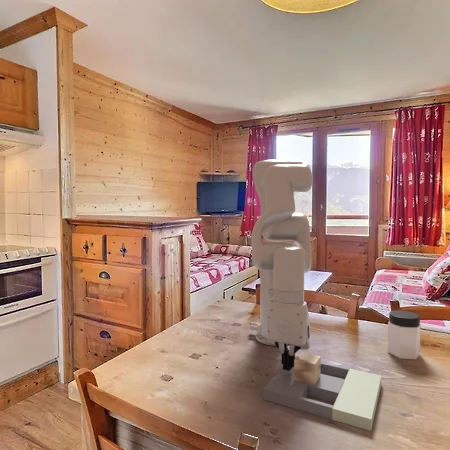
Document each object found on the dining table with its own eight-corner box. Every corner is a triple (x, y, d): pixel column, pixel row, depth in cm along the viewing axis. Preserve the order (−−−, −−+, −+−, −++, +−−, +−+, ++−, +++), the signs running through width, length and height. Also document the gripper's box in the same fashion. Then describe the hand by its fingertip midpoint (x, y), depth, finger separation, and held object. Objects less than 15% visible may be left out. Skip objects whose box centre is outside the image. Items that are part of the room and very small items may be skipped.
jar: (392, 345, 109) (393, 308, 109) (421, 352, 104) (422, 313, 103) (384, 354, 103) (385, 315, 102) (415, 362, 97) (416, 321, 97)
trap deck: (263, 399, 79) (263, 388, 79) (291, 364, 97) (291, 355, 96) (371, 431, 68) (371, 418, 68) (381, 385, 85) (381, 375, 85)
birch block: (294, 379, 83) (294, 359, 83) (300, 371, 87) (300, 352, 87) (314, 385, 80) (315, 364, 80) (320, 376, 85) (320, 356, 85)
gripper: (254, 295, 86) (254, 367, 87) (314, 303, 78) (313, 382, 79) (266, 289, 92) (266, 356, 93) (322, 296, 85) (322, 369, 86)
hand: (288, 368), depth 86 cm, fingers closed
